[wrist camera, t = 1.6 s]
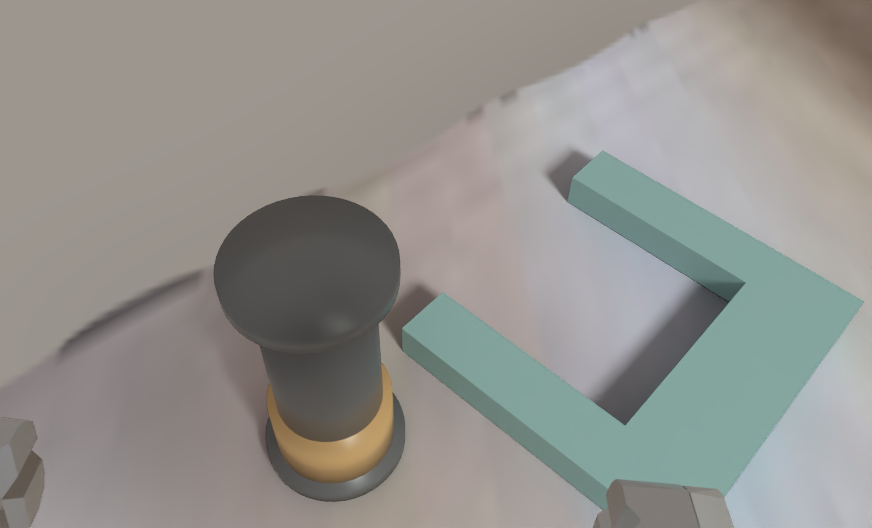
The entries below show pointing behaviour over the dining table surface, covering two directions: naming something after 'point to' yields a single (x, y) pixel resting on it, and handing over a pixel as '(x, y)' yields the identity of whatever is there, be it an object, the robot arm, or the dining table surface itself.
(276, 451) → the door knob
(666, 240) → the notched board
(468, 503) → the dining table surface
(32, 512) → the robot arm
